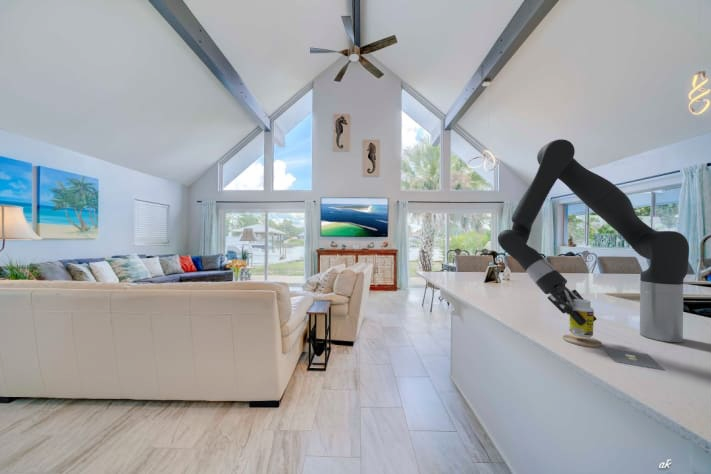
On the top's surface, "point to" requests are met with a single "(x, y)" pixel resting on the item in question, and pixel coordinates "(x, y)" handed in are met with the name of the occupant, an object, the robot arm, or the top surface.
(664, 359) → the top surface
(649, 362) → the gray board
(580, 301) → the supplement bottle
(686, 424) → the top surface
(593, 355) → the top surface
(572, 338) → the cork coaster
